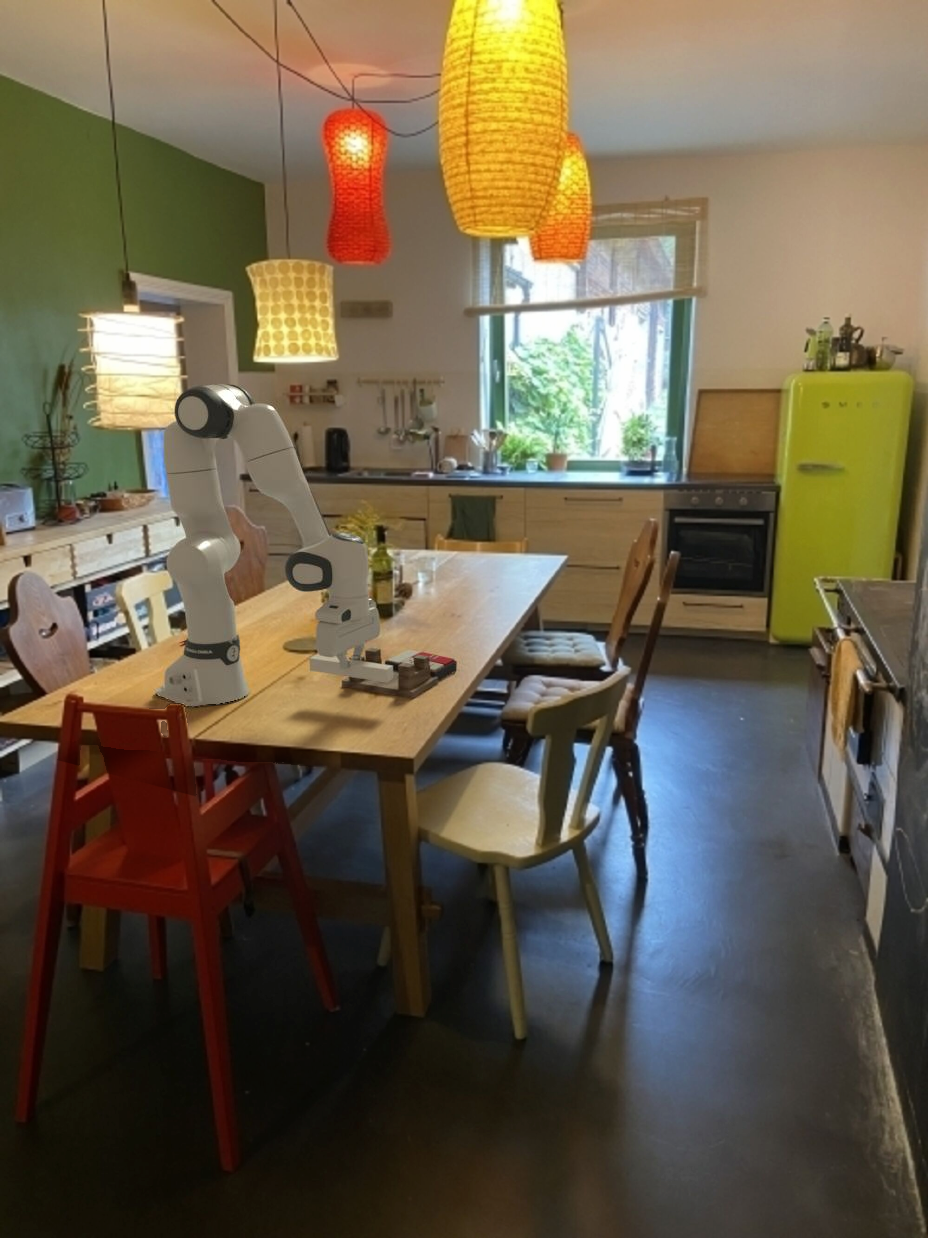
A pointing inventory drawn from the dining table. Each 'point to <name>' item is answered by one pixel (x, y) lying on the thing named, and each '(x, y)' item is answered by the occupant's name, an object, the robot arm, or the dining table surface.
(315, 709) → the dining table surface
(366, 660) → the rack
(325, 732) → the dining table surface
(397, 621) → the dining table surface
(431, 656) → the calculator
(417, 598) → the dining table surface
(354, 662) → the clay strip
